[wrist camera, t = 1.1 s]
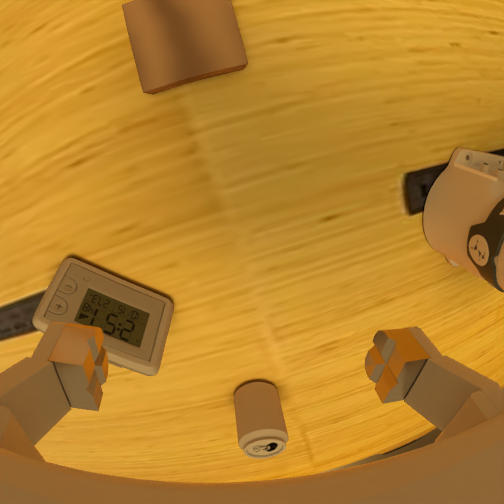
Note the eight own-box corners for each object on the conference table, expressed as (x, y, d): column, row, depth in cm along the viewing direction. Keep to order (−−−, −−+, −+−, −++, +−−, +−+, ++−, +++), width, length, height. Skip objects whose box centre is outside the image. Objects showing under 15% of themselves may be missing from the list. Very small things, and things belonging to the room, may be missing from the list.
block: (222, -8, 26) (223, -24, 21) (243, 69, 30) (247, 63, 26) (133, 17, 26) (121, 4, 21) (153, 94, 30) (143, 92, 26)
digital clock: (181, 301, 41) (175, 357, 32) (148, 341, 44) (138, 397, 34) (77, 234, 36) (41, 276, 26) (54, 283, 38) (21, 330, 28)
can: (271, 405, 53) (283, 460, 42) (230, 404, 52) (235, 461, 41) (281, 378, 50) (296, 437, 39) (237, 377, 49) (244, 438, 38)
